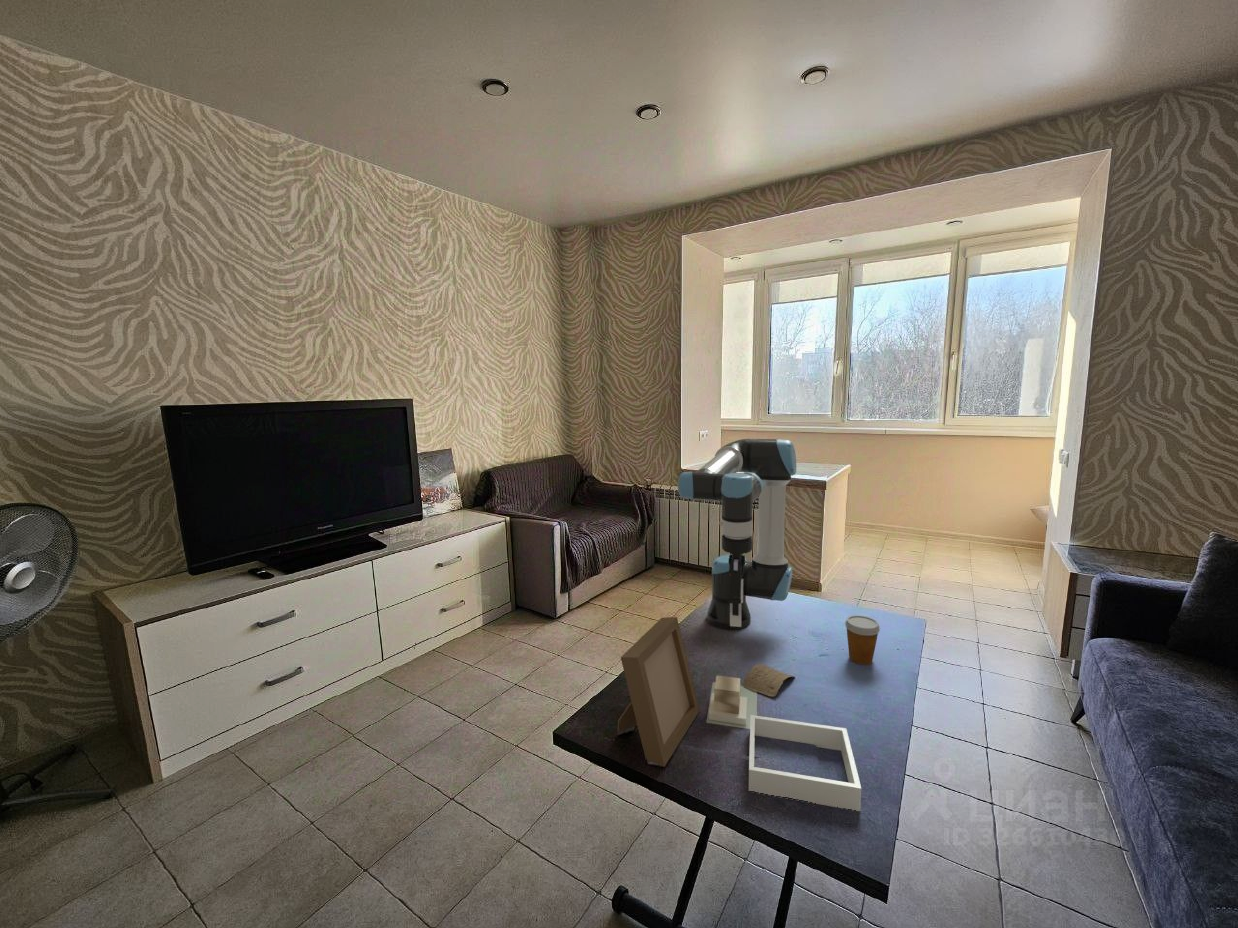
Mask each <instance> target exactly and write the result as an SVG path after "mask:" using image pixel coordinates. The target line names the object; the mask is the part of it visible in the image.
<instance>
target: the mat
mask: <svg viewBox="0 0 1238 928" xmlns="http://www.w3.org/2000/svg"><path fill="white" fill-rule="evenodd" d="M715 682H716V681H712V685H711V690H710V696H709V704H708V708H707V709H708V710H707V717H706V722H705V723H706V724H713V725H717V726H718V725H720V726H725V727H732V728H740V729H745V730H750V716H751V715H755V716H758V692H753V691H751V690H749V689H747V688H745V687H744V686H743V685H742V684H740V696H741V697H747V718H746V725H743V724H736V723H729V722H722V721H715V720H709V709H710V703H711V696H712V693H714V688H715Z"/></svg>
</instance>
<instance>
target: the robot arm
mask: <svg viewBox="0 0 1238 928" xmlns="http://www.w3.org/2000/svg"><path fill="white" fill-rule="evenodd" d="M796 473H797V456H796V450H795V446H794V444H793V442H792V441H791V440H789V439H782V438H781V439H780V438H775V439H774V438H741V439H738V440H735V441H732V442H730V443H727V444H725V445H723V446H722V447H720V448H719V449H717V451H716V452H715V454H714V456H713V457H712V458H711V459H710V460H709V461H707V462H706V463H705V464H704V465H702V466H701V467H700V468H699V469H698V470H697V471H683V472H681V473H680V474H679V477H678V481H677V490H678V491H677V493H678V494H679V496H680V497H681V498H682V499H690V500H696V501H697V500H699V501H715V502H721V521H719V522H718V523H719V525H720V526H721V534H722V535H721V549H722V551H724V553H725V552H726V553H728V554H723V555H720V556H718V557H716V558H715V559H714V560H713V561H712V566H711V567H712V569H711V584H712V585H711V595H712V596H711V600H710V603H709V607H708V609H707V613H706V616H707V617H706V620H707V622H708V623H709V624H710V625H712V626H713V627H716V628H719V629H724V630H731V631H733V630H741V629H745V628H747V627H749V626H750V624H751V619H752V617H751V616H752V615H751V612H750V610H749V607H748V603H747V599H746V598H747V597H751V598H759V599H764V600H770V601H780V602H783V601H786V600H787V598H788V596H789V592H790V588H791V583H792V580H793V579H792V578H793V571H794V569H793V567H791V565H789V560H788V559H787V558H786V557H785V556H784V553H785V552H784V551H785V550H784V549H785V548H784V547H785V545H784V544H785V519H786V496H787V495H786V491H787V490H786V489H787V485H788V484H789V483H790V482H792V476H796ZM756 500H758V514H757V515H758V517H757V518H758V519H757V540H756V541H757V545H756V546H757V547H756V554H755V555H754V556H753V557H752V559H751V561H748V560H747V557H746V555H745V554H748V553H750V552H752V550H753V537H752V535H753V525H754V524H753V520H754V519H753V503H754V502H755V501H756Z"/></svg>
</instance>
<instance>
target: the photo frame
mask: <svg viewBox="0 0 1238 928" xmlns="http://www.w3.org/2000/svg"><path fill="white" fill-rule="evenodd" d="M620 660H621V665H622V668H623V673H624V676H625V677H624V678H625V681H626V684H627V689H628V693H629V697H630V700H631V701H630V702H629V704H628V705H627V707H626V708H625V710H623V713H622V714H621V715H620V717H619V718H618V720H617V731H618V732H619V731H622V730H626V729H628V728H631V727H634V726H636V727H637V729H638V733H639V737H640V741H641V745H642V749H643V753H644V757H645V760H646V759H647V760H649V761H651V762H654V763H656V764H659V765H660V766H659V767H662V766H663V767H664V768H665V767H666V765H667V764H668V762H669V760H670V759H671V757H672V756H673V755H674V753H675V751H676V749H677V747H678V746H679V745H680V742H682V740H683V738H684V736H685V735H686V733H687V731H688V730H689V729H690V727H691V725H692V724H693V723H694V722H693V721H694V720H695V719H696V717H697V716H698V714H699V713H700V706H699V702H698V698H697V694H696V691H695V686H694V681H693V678H692V673H691V669H690V665H689V661H688V657H687V653H686V650H685V644H684V641H683V637H682V632H681V629H680V624H679V620H678V617H677V616H672V617H671V616H670V617H667V616H666V617H661V618H660V619H659V620H657V622H656V623H654V625H652V627H650V628H649V629H648V630H647V631H646V632H645V633H644V634H643V635H642V636H641V637H640V638H639V639H638V640H637V641H636V642H635V643H634V644H633V645H632V646H630V648H629V649H628V650H626V652H624V653H623V654H622V656H620ZM663 767H662V768H663Z"/></svg>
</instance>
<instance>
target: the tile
mask: <svg viewBox="0 0 1238 928" xmlns="http://www.w3.org/2000/svg"><path fill="white" fill-rule="evenodd" d="M710 696H711V695H710ZM709 703H710V702H709ZM708 709H709V708H708ZM746 718H747V697H741V696H740V708H739V714H733V713H726V712H719V711H714V693H712V696H711V703H710V709H709V720H715V721H722V722H729V723H736V724H743V725H746Z"/></svg>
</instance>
